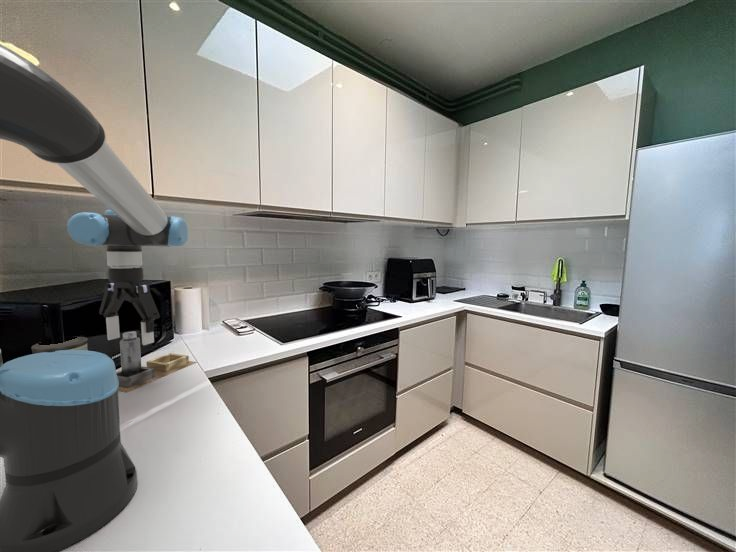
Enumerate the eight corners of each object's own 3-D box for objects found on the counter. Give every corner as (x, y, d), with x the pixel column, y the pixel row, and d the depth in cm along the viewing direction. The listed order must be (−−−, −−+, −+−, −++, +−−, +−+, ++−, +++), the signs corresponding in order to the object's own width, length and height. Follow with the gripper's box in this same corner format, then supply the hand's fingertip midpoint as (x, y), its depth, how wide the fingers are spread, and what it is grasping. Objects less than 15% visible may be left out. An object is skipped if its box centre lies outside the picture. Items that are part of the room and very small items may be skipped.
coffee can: (25, 405, 71) (20, 350, 70) (50, 387, 81) (46, 338, 80) (79, 397, 76) (75, 345, 74) (97, 381, 85) (94, 335, 84)
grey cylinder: (129, 384, 80) (126, 335, 79) (118, 382, 81) (115, 334, 80) (145, 378, 84) (143, 331, 83) (134, 376, 85) (132, 330, 84)
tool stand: (126, 397, 76) (126, 383, 75) (95, 391, 79) (94, 377, 79) (197, 366, 97) (197, 354, 96) (170, 362, 100) (170, 351, 100)
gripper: (172, 267, 80) (176, 341, 82) (109, 265, 87) (114, 333, 89) (145, 269, 73) (149, 350, 75) (78, 266, 80) (84, 340, 82)
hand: (130, 341), depth 82 cm, fingers open, 13 cm apart
